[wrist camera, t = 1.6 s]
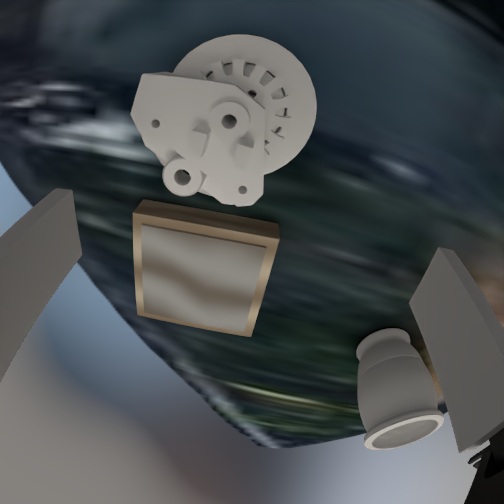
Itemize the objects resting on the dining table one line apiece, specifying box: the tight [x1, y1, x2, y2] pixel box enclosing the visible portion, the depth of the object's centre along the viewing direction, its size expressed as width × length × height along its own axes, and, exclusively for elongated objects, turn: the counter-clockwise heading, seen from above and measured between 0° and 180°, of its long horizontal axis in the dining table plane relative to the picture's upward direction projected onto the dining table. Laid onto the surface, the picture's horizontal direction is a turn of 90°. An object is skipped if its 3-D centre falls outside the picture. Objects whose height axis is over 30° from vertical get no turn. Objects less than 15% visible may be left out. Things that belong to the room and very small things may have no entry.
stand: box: [133, 199, 279, 337], centre depth 33 cm, size 14×14×3 cm
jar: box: [356, 328, 444, 450], centre depth 35 cm, size 11×10×15 cm
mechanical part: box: [131, 35, 317, 207], centre depth 20 cm, size 11×12×12 cm
